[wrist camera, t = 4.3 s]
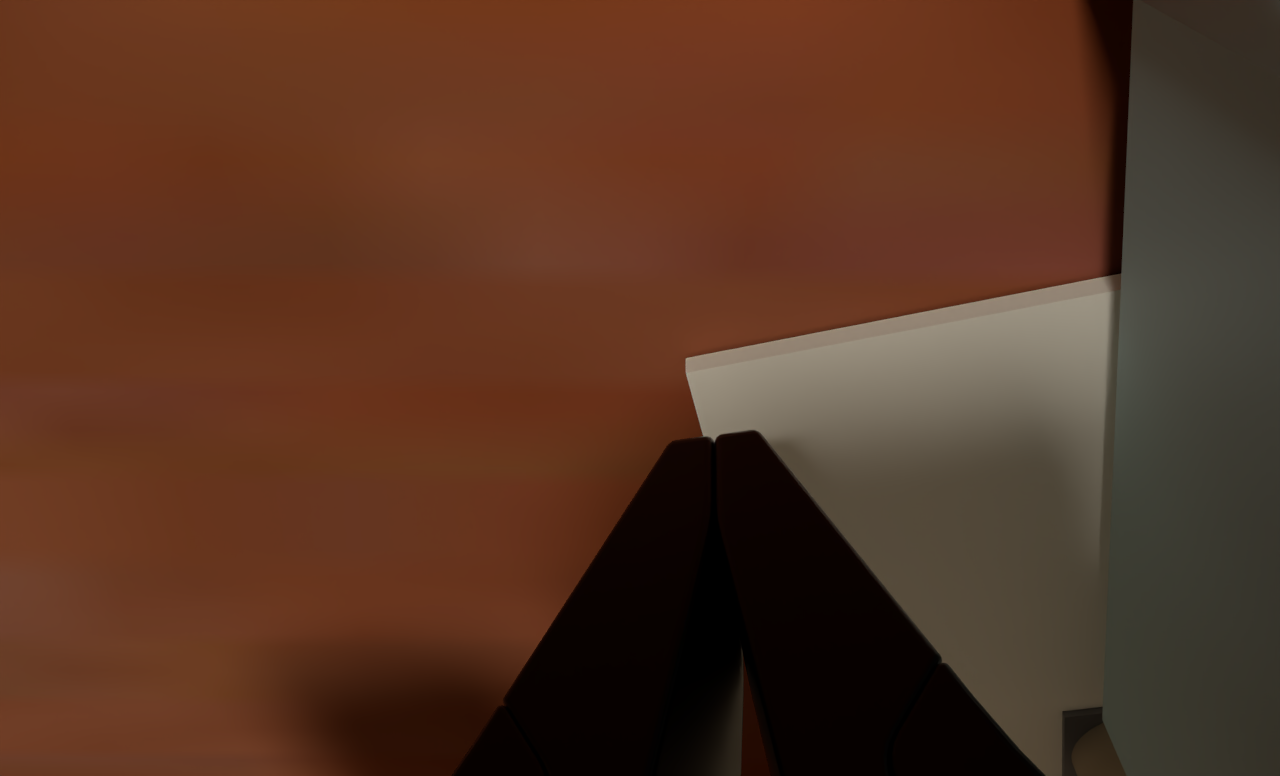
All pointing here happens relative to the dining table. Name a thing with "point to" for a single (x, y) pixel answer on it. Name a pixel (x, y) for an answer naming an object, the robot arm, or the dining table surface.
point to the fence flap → (1198, 399)
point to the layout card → (962, 481)
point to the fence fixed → (1096, 754)
